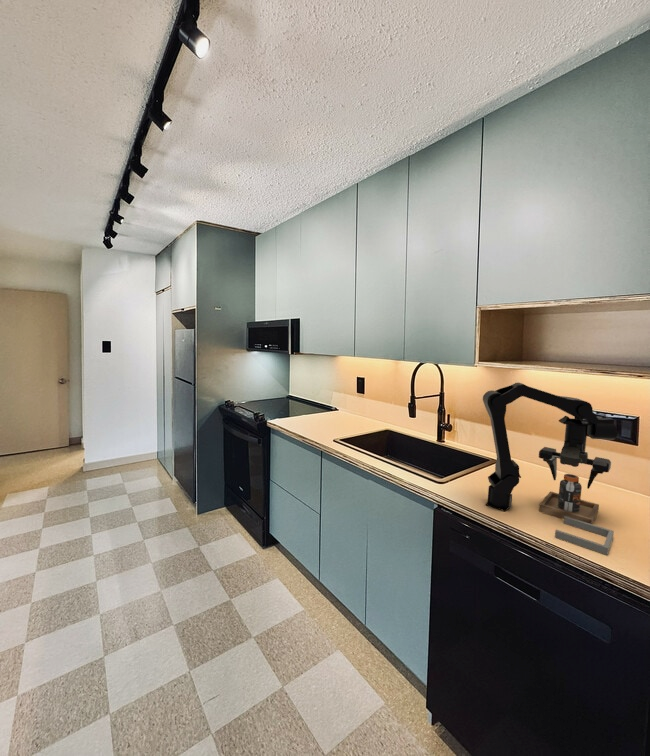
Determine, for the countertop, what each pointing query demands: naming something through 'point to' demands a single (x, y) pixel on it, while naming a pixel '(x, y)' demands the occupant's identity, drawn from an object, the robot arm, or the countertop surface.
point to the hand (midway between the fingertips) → (571, 484)
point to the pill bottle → (569, 493)
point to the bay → (584, 542)
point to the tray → (551, 507)
